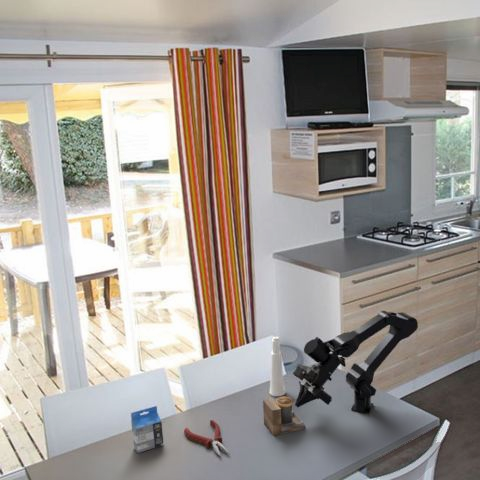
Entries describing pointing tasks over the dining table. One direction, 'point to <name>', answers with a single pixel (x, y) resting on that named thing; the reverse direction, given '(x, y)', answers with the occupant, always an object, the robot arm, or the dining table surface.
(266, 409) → the mount
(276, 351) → the cosmetic bottle
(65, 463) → the dining table surface
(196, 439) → the pliers
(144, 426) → the label tape box
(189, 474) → the dining table surface
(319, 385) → the robot arm
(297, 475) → the dining table surface
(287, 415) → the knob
